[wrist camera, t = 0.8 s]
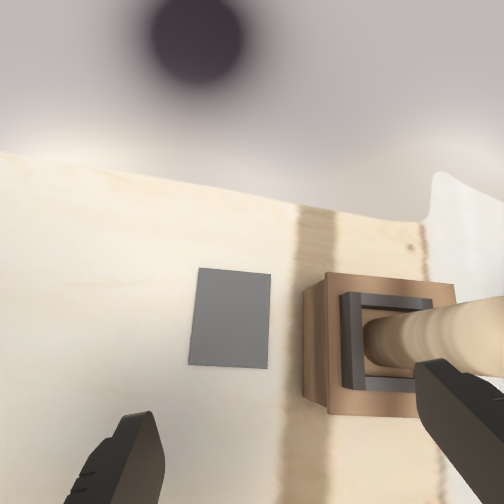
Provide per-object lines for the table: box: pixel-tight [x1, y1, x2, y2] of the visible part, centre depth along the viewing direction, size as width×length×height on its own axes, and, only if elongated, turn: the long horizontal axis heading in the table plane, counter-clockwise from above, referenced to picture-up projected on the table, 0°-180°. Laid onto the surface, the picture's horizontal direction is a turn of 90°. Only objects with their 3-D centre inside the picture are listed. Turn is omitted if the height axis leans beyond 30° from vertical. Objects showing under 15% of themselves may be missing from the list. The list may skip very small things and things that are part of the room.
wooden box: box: [303, 272, 456, 418], centre depth 30 cm, size 13×12×10 cm
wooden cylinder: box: [363, 296, 504, 378], centre depth 21 cm, size 4×4×12 cm
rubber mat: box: [188, 268, 271, 369], centre depth 33 cm, size 8×10×1 cm
